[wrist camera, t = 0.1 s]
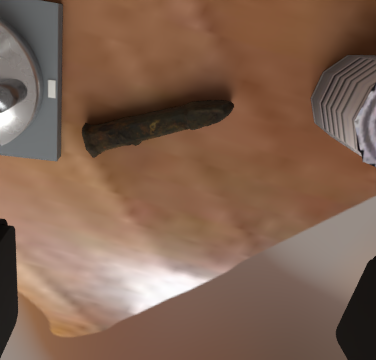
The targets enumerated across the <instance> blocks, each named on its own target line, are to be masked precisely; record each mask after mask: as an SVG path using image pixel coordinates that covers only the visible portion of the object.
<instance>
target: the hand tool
mask: <svg viewBox="0 0 376 360" xmlns="http://www.w3.org/2000/svg"><path fill="white" fill-rule="evenodd" d="M233 108H234V104H233V103H232V102H230V101H224V100H214V101H212V100H207V101H197V102H190V103H188V104H186V105H183V106H179V107H174V108H169V109H164V110H160V111H154V112H150V113H147V114H143V115H139V116H132V117H127V118H122V119H119V120H115V121H112V122H108V123H104V124H99V125H89V124H88V123H85V125H84V126H83V128H82V136H83V139H84V143H85V147H86V150H87V151H88V152H89V153H90V154H91V156H92V157H93V158H95V157H96V156H97V155H99V154H101V153H102V152H103V151H105V150H108V149H112V148H117V147H120V146H125V145H131V144H133V145H135V146H136V145H139V144H140V143H141V142H142V141H144V140H148V139H151V138H156V137H160V136H163V135H167V134H171V133H174V132H178V131H182V130H186V129H191V130H195V129H198V128H201V127H204V126H209V125H211V124H215V123H217V122H220V121H221V120H223V119H224V118H225V117H226V116H228V115H229V114H230V113H231V111H232V109H233Z"/></svg>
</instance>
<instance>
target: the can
mask: <svg viewBox="0 0 376 360" xmlns="http://www.w3.org/2000/svg"><path fill="white" fill-rule="evenodd" d="M311 104H312V110H313V117H314V123H315V124H317V125H318V126H319V127H320V128H321V129H323V130H324V131H325V132H326V133H327V134H329V135H330V136H331V137H333V138H334V139H336V140H337V141H339V142H340V143H342V144H343V145H345V146H346V147H348V148H349V149H351V150H352V151H354V152H355V153H357V154H358V155H360V156H361V157H362V159H363V162H365V163H368V164H370V165H372V166H375V167H376V56H375V55H347V56H345V57H344V58H343V59H341V60H340V61H338V62H337V63H335V64H334V65H333V66H331V67H330V68H328V69H327V70H325V71H324V72H323V73H322V75H321V77H320V80H319V82H318V84H317V86H316V88H315V90H314V92H313V94H312V97H311Z"/></svg>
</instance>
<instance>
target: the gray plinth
mask: <svg viewBox="0 0 376 360" xmlns="http://www.w3.org/2000/svg"><path fill="white" fill-rule="evenodd" d="M0 17H1V18H3V19H4V20H6V21H7V22H8V23H9V24H11V25H12V26H13V27H14V28H15V29H16V30H17V31H18V32H19V33H20V34H21V35H22V36H23V38H24V39H25V40H26V41H27V43H28V44H29V46H30V47H31V49H32V50H33V52H34V54H35V56H36V58H37V60H38V63H39V66H40V69H41V73H42V78H43V99H42V104H41V107H40V109H39V112H38V114H37V116H36V118H35V119H34V120H33V122H32V123H31V124H30V125H29V126H28V127H27V128H26V129H25V130H24V131H23V132H22V133H21V134H19V135H18V136H17V137H16V138H14V139H13V140H12V141H10V142H9V143H7V144H4V145H2V146H0V155H5V156H14V157H23V158H32V159H41V160H50V161H57V160H58V159H59V158H60V156H61V100H62V22H63V4H58V3H53V2H47V1H41V0H0Z"/></svg>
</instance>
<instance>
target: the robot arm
mask: <svg viewBox="0 0 376 360" xmlns="http://www.w3.org/2000/svg"><path fill="white" fill-rule="evenodd" d="M17 316H18V296H17V268H16V241H15V228H14V227H13V226H8V224H7V221H6V220H5V219H0V358H1V355H2V353H3V351H4V349H5V347H6V344H7V342H8V340H9V337H10V335H11V333H12V331H13V329H14V326H15V324H16V320H17ZM336 338H337V341H338V343H339V345H340V347H341V349H342V350H343V352H344V354H345V355H346V357H347V359H348V360H376V256H375V257H374V258H373V259H372V260H370V261H369V262H368V263H367V266H366V268H365V270H364V272H363V274H362V276H361V278H360V280H359V282H358V285H357V287H356V289H355V291H354V293H353V295H352V297H351V299H350V301H349V303H348V306H347V308H346V310H345V312H344V314H343V316H342V318H341V320H340V323H339V325H338V327H337V329H336Z"/></svg>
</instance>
